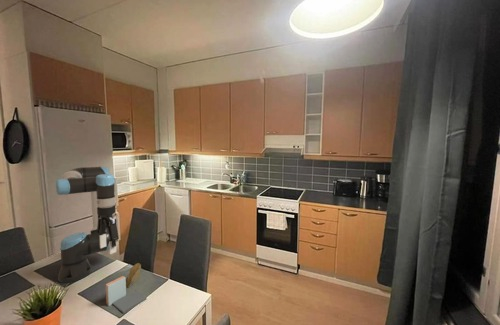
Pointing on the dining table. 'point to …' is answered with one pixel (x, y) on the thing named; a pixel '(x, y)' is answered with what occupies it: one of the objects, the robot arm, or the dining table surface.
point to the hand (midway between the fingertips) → (108, 249)
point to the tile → (115, 290)
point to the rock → (133, 275)
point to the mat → (129, 301)
